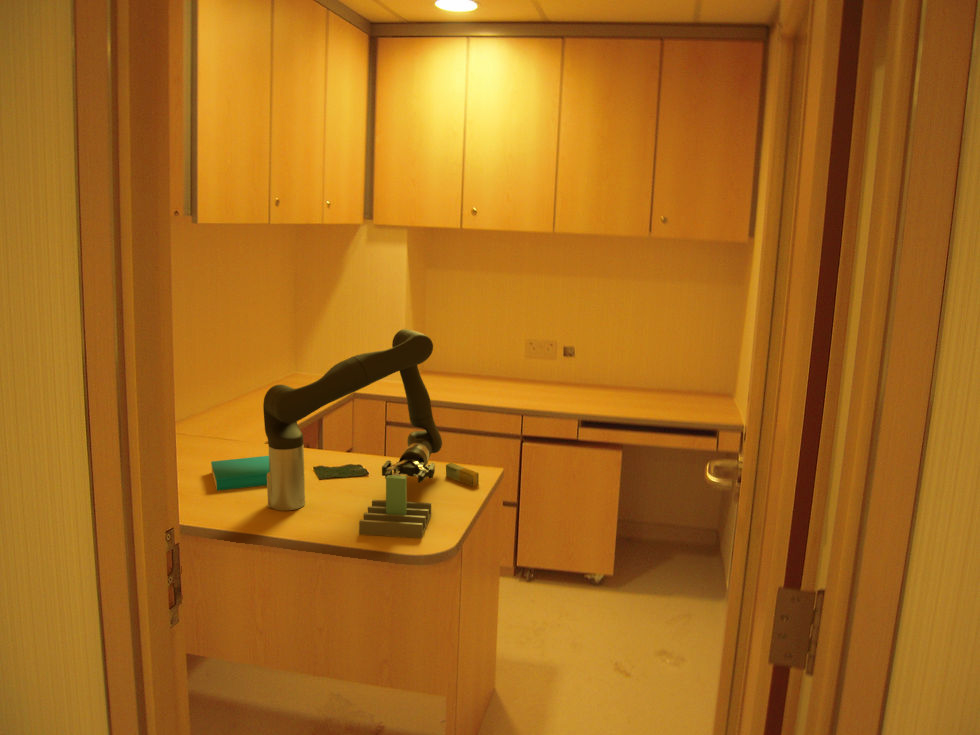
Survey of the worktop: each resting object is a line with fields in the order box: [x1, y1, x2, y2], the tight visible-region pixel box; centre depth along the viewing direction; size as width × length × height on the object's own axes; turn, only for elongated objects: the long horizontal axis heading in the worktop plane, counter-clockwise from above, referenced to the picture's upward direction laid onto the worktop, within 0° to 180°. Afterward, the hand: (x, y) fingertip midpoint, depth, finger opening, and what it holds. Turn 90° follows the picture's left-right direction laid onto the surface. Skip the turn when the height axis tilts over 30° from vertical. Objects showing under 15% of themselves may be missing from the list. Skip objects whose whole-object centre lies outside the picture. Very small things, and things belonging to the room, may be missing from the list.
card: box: [385, 475, 408, 515], centre depth 214 cm, size 5×2×12 cm, turn 85°
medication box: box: [445, 462, 480, 487], centre depth 249 cm, size 12×3×4 cm, turn 46°
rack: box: [358, 499, 432, 539], centre depth 215 cm, size 16×15×4 cm
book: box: [210, 455, 269, 491], centre depth 248 cm, size 17×4×25 cm
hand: (403, 478), depth 223 cm, fingers open, 8 cm apart
